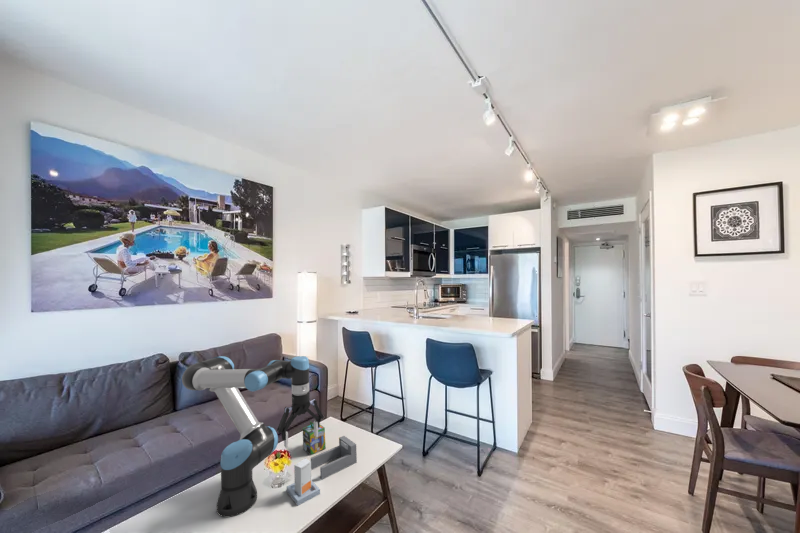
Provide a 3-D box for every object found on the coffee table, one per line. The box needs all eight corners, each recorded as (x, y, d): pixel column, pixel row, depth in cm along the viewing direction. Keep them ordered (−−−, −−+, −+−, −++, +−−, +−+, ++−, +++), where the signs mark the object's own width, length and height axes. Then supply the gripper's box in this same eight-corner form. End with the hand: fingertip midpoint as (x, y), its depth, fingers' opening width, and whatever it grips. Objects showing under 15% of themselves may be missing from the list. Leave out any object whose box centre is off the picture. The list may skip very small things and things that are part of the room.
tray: (297, 505, 128) (297, 500, 128) (286, 490, 137) (286, 486, 137) (320, 493, 134) (319, 489, 134) (308, 480, 143) (308, 476, 143)
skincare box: (301, 496, 132) (300, 468, 132) (294, 493, 134) (293, 465, 135) (312, 488, 137) (311, 460, 137) (305, 485, 139) (304, 457, 140)
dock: (322, 479, 144) (321, 459, 144) (310, 468, 153) (310, 449, 153) (356, 462, 156) (356, 444, 156) (344, 452, 165) (344, 435, 165)
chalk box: (325, 448, 169) (325, 421, 170) (310, 455, 163) (309, 427, 164) (318, 442, 176) (317, 416, 177) (302, 448, 170) (301, 421, 171)
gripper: (274, 403, 127) (275, 455, 126) (330, 387, 143) (331, 434, 142) (268, 397, 133) (269, 448, 132) (322, 383, 149) (323, 428, 148)
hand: (301, 441), depth 137 cm, fingers open, 13 cm apart
